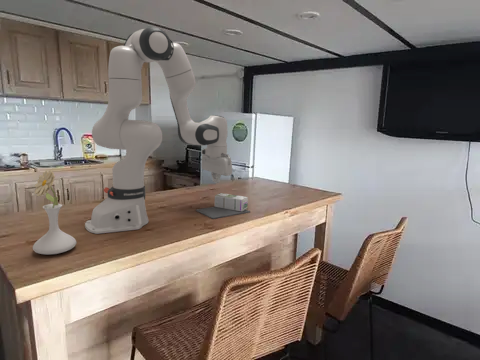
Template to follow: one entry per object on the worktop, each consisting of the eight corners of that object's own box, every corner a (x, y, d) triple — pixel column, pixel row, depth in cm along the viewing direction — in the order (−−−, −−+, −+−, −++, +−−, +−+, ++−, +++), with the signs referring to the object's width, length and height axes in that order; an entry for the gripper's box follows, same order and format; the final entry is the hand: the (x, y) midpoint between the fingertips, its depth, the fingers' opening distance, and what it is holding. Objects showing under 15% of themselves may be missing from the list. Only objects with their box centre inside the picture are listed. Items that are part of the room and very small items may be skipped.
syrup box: (214, 207, 147) (242, 212, 141) (214, 194, 146) (243, 199, 140) (220, 204, 153) (247, 209, 146) (220, 192, 151) (248, 196, 145)
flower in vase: (33, 246, 98) (26, 165, 93) (75, 240, 103) (70, 164, 99) (32, 263, 87) (24, 173, 82) (79, 256, 93) (74, 171, 88)
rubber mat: (212, 219, 131) (212, 218, 131) (195, 210, 142) (195, 209, 142) (250, 212, 143) (250, 211, 143) (232, 204, 154) (232, 203, 154)
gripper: (236, 154, 137) (235, 186, 139) (210, 149, 153) (210, 178, 155) (224, 155, 133) (223, 187, 136) (199, 150, 149) (198, 179, 151)
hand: (215, 182), depth 146 cm, fingers closed
